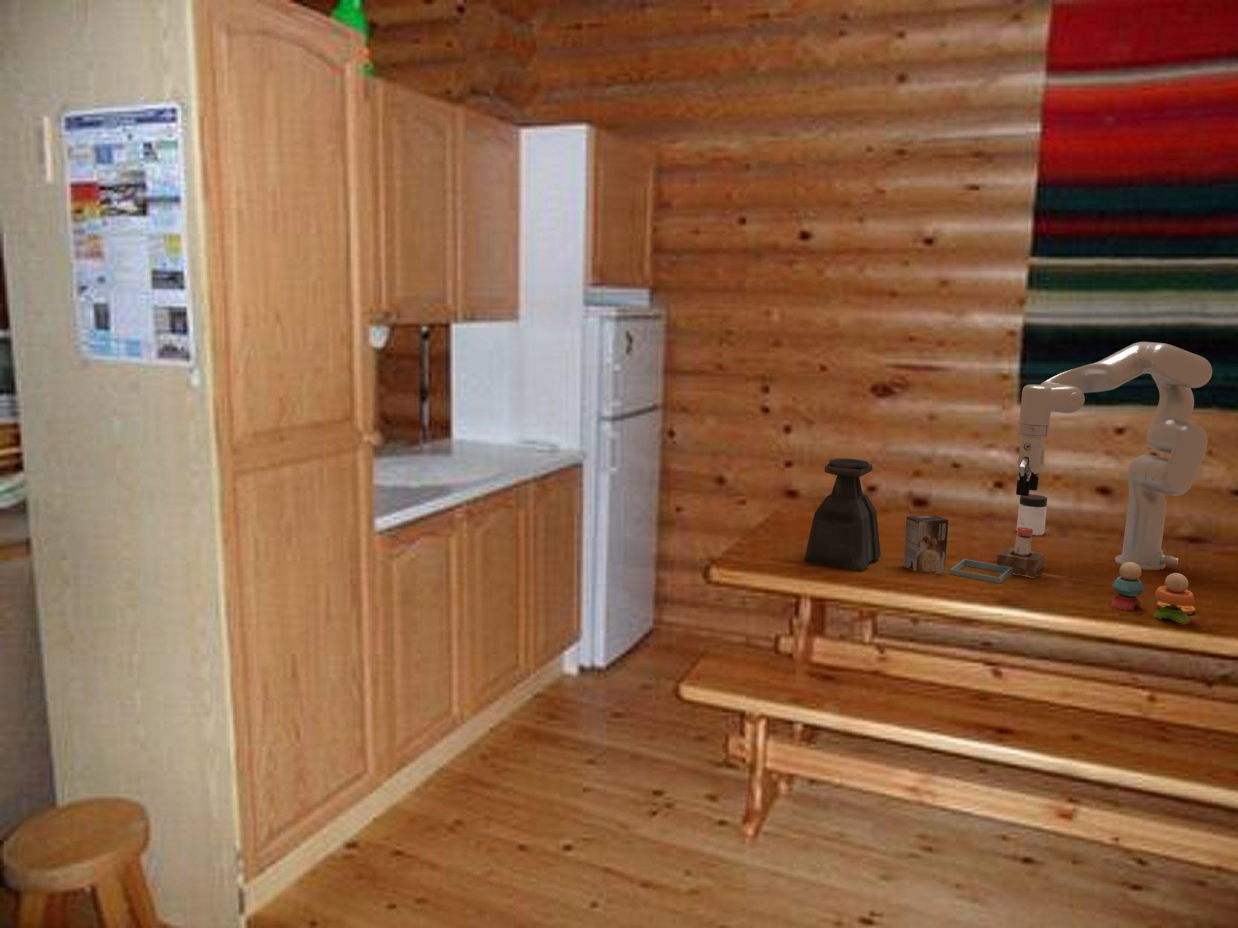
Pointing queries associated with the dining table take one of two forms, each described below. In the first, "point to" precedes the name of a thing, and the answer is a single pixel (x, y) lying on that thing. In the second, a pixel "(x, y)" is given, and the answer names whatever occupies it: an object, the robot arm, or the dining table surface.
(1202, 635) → the dining table surface
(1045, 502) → the jar
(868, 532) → the bottle
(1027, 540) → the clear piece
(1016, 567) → the block
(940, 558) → the coffee box
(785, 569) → the dining table surface
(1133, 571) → the wooden stacking toy
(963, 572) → the tray
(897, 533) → the dining table surface
